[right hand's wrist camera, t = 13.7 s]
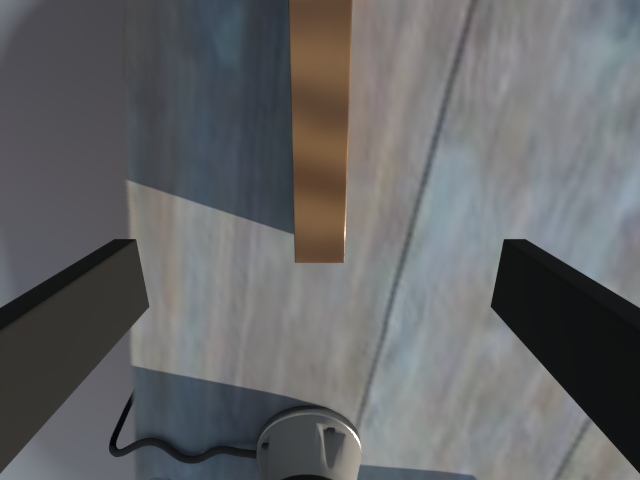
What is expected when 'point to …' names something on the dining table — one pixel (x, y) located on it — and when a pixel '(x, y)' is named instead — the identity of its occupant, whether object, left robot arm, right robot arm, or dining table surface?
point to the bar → (320, 125)
